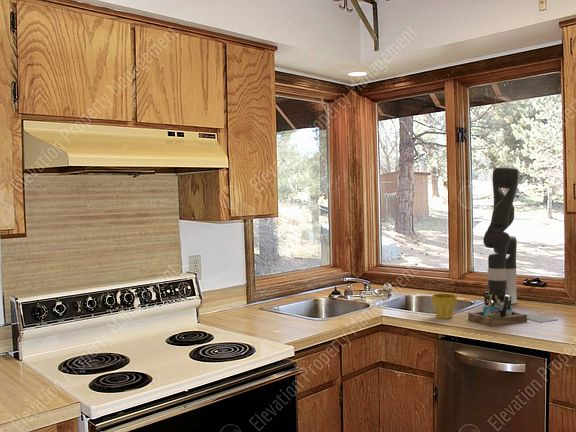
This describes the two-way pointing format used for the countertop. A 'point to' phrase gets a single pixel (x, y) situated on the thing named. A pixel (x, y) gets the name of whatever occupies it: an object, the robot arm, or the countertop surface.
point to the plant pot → (444, 305)
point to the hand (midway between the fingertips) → (497, 317)
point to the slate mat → (539, 318)
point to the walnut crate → (497, 319)
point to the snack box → (495, 311)
